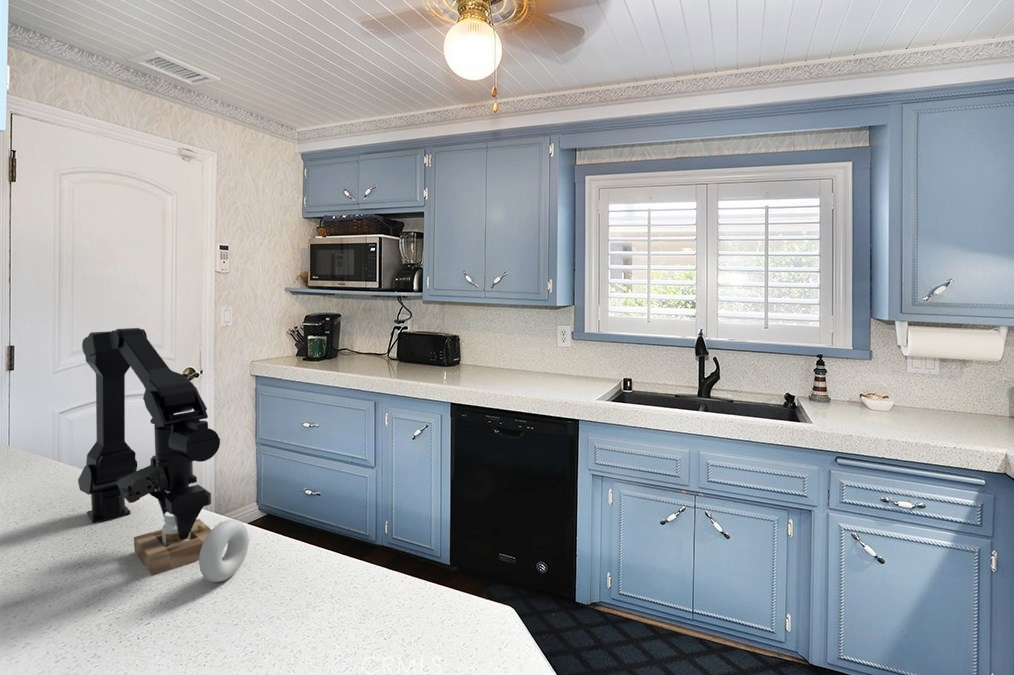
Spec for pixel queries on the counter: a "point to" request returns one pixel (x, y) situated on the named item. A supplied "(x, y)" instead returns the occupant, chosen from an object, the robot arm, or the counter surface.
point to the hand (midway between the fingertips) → (176, 532)
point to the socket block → (169, 549)
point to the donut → (214, 545)
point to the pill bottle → (171, 531)
